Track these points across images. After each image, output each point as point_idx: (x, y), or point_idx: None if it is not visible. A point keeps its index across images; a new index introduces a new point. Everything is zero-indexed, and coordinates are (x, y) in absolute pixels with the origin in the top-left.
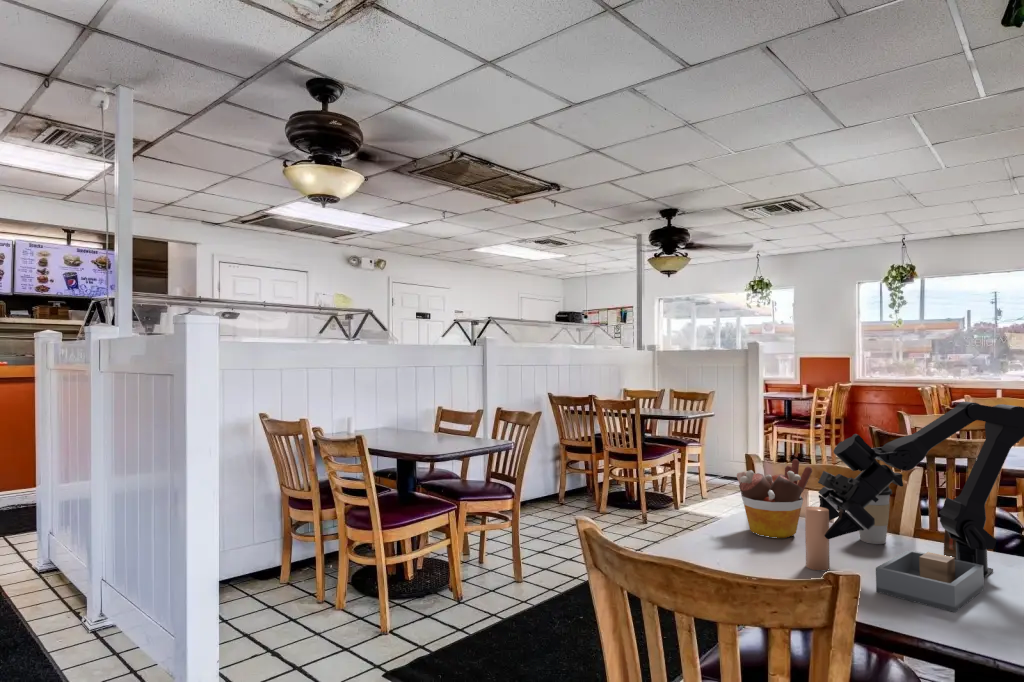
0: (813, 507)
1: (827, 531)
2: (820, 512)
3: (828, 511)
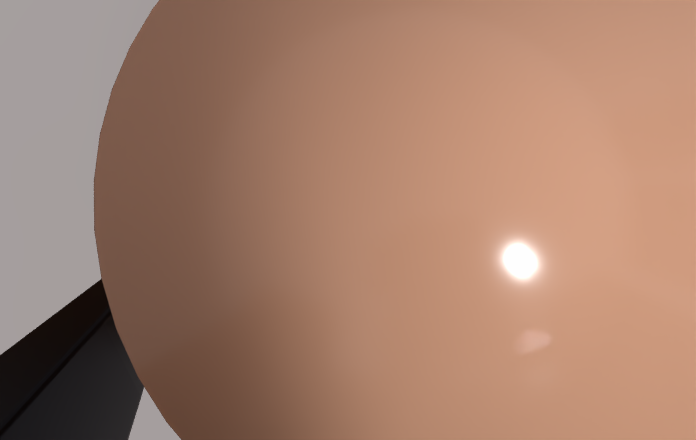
0: (670, 122)
1: (103, 301)
2: (100, 178)
3: None
